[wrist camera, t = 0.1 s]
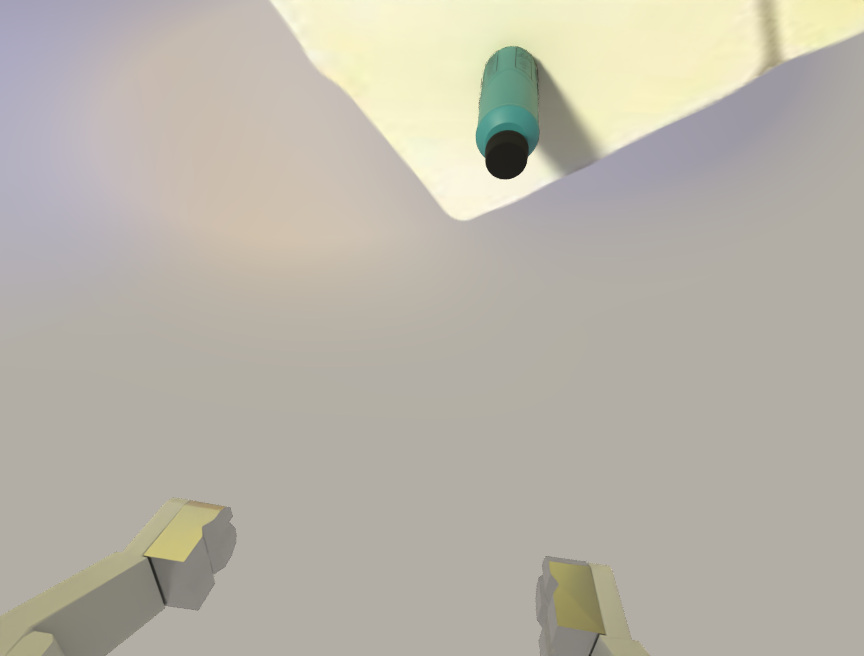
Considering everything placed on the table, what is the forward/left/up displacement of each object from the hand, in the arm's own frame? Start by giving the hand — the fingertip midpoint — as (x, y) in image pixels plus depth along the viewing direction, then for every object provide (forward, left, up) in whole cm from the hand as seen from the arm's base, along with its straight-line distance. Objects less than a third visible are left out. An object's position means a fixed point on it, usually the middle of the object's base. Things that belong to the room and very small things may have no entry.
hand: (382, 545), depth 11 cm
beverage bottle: (+11, -2, -54) cm, 56 cm away
